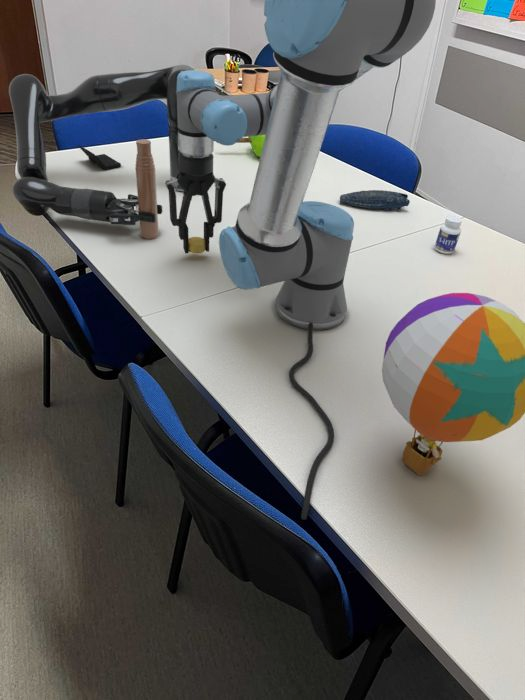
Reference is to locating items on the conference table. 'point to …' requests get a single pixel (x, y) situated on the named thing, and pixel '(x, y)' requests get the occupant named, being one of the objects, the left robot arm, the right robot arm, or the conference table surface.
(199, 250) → the cap
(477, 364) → the toy
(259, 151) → the decorative tree
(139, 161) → the bottle
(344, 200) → the fish model
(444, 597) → the conference table surface
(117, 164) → the black angled piece
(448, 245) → the pill bottle
